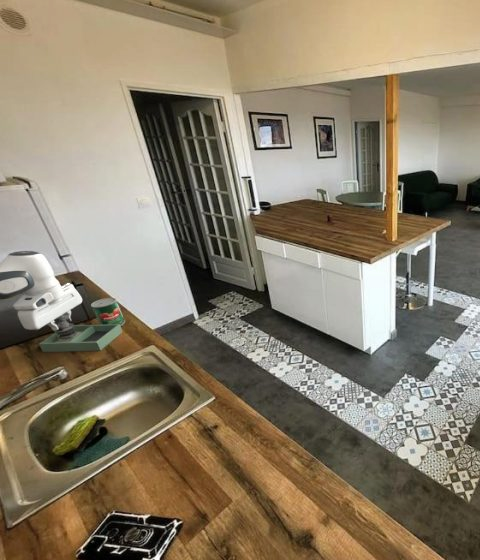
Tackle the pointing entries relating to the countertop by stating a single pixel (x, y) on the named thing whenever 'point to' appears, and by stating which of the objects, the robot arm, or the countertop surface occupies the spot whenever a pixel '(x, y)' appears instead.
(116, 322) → the canned tomato
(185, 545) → the countertop surface
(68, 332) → the grey statuette
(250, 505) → the countertop surface
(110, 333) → the tray
